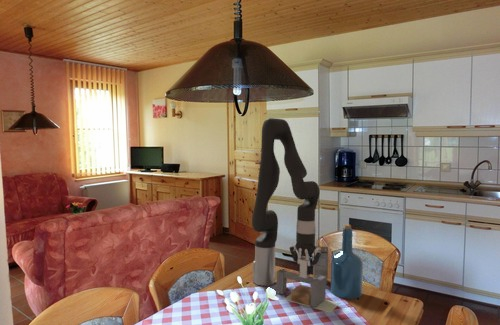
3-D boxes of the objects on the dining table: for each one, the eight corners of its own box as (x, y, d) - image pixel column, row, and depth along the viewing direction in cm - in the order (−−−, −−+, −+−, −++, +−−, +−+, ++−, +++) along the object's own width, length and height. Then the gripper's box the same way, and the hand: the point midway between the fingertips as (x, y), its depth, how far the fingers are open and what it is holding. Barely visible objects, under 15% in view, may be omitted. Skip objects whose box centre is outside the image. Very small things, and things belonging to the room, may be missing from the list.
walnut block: (291, 300, 143) (291, 290, 143) (300, 294, 150) (300, 284, 150) (309, 305, 139) (309, 295, 138) (317, 298, 145) (318, 289, 145)
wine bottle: (344, 286, 161) (346, 220, 160) (368, 297, 150) (370, 226, 149) (322, 292, 154) (324, 223, 153) (346, 304, 143) (348, 229, 142)
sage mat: (283, 301, 144) (283, 299, 144) (294, 293, 152) (294, 291, 152) (330, 315, 133) (330, 312, 133) (339, 305, 141) (339, 303, 141)
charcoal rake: (272, 295, 147) (273, 256, 146) (284, 287, 155) (284, 251, 155) (315, 307, 136) (316, 266, 136) (325, 298, 144) (326, 259, 144)
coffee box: (313, 279, 170) (314, 245, 170) (327, 280, 169) (328, 246, 168) (312, 286, 161) (313, 251, 161) (327, 287, 160) (328, 252, 159)
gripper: (285, 230, 144) (285, 272, 145) (318, 235, 136) (317, 280, 137) (294, 227, 150) (293, 267, 151) (325, 231, 142) (324, 274, 143)
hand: (304, 273), depth 144 cm, fingers closed on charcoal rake, 3 cm apart
